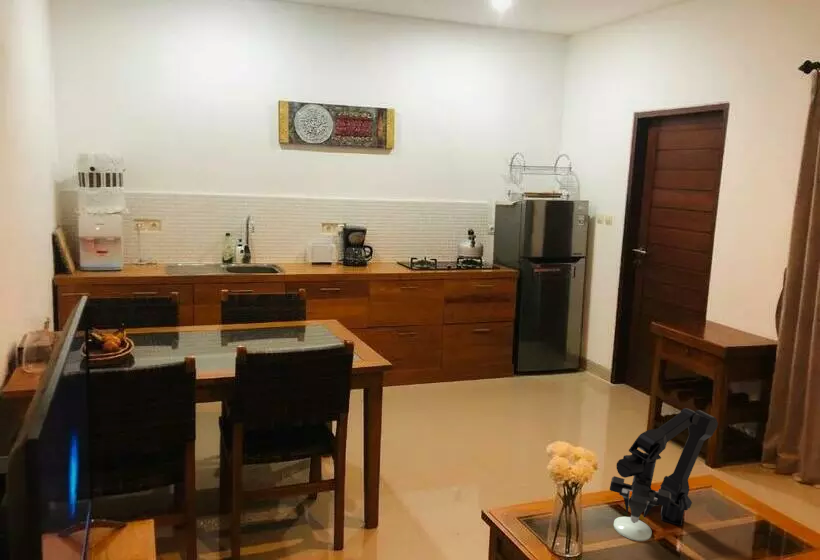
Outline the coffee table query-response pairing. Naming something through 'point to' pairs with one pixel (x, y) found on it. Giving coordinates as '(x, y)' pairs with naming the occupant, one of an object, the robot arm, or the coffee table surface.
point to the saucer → (632, 529)
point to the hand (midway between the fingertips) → (635, 514)
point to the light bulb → (636, 510)
